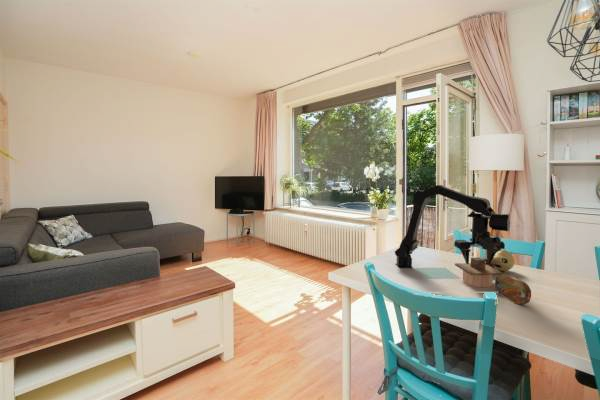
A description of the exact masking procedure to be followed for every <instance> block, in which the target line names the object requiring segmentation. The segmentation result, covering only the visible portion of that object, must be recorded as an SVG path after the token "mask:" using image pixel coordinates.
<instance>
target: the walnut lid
mask: <svg viewBox="0 0 600 400" xmlns="http://www.w3.org/2000/svg"><path fill="white" fill-rule="evenodd" d="M482 258H483V257H471V258H470V262H469V264H466V262H465V263H463V262H459V263H454V266H455V267H457V268H458V269H460V270H462V271H463V270H464V271H465V272H467V273H468V274H470V275H493V276H498V275H500V274H503V275H504V273H503V271H499V270H496V269H494V268H492V267H490V266H488V265H486V260H484V259H482Z"/></svg>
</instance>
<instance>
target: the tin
mask: <svg viewBox="0 0 600 400" xmlns="http://www.w3.org/2000/svg"><path fill="white" fill-rule="evenodd" d="M494 285H495V290H496V291H497V293H498V294H499V295H500V296H501V297H503V298H505V299H507V300H509V301H511V302H513V303H514V304H517V305H525V304H526V305H527V304H529V302H530V301H531V298H532V290H531V287H530V286H529V285H528V283H527V282H525V281H523V280H521V279H518V278H516V277H514V276H512V275H509V274H504V273H503V274H500V275H496V277H495V282H494Z"/></svg>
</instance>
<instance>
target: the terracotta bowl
mask: <svg viewBox="0 0 600 400" xmlns="http://www.w3.org/2000/svg"><path fill="white" fill-rule="evenodd" d="M493 276H494V275H470V274H468V273H467V272H465V271H464V270H462V281H463V283H465V284H466V285H468V286H473V287H478V288H490V287H492V285H493V280H494V279H493Z"/></svg>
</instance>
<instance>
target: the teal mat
mask: <svg viewBox="0 0 600 400" xmlns="http://www.w3.org/2000/svg"><path fill="white" fill-rule="evenodd" d="M415 269H416V270H417V272H419V273H420V274H421V275H422V276H423V277H424V278H426V279H427V280H438V279H439V280H441V279H442V280H443V279H444V280H446V279H447V280H449V279H450V280H451V279H453V280H454V279H455V280H457V279H462V278H461V277H460V276H458V275H457V274H456V273H454V272H452V271H451V270H449V269H448V268H447V267H415Z"/></svg>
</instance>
